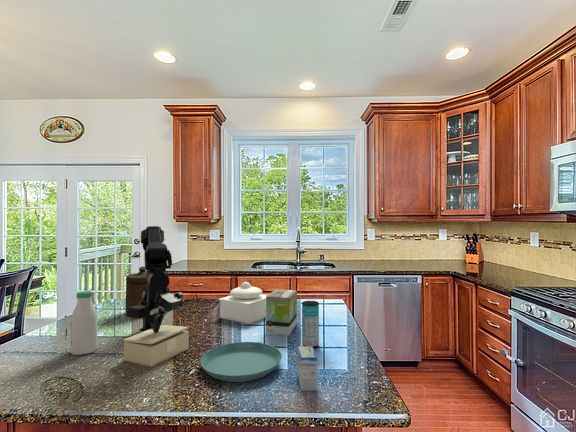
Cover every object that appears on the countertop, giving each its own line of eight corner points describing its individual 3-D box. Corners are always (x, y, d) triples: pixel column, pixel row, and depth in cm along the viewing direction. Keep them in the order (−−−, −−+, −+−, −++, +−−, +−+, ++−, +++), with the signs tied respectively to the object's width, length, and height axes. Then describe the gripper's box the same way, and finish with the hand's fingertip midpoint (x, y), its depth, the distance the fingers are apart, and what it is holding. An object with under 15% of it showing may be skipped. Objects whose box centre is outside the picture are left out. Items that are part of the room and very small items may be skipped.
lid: (123, 341, 106) (123, 338, 106) (162, 326, 120) (162, 324, 120) (151, 344, 101) (151, 341, 101) (188, 328, 115) (188, 326, 115)
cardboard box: (123, 360, 106) (123, 341, 106) (162, 343, 120) (162, 326, 120) (152, 367, 100) (152, 347, 101) (188, 349, 115) (188, 331, 115)
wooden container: (151, 316, 154) (151, 268, 154) (119, 316, 154) (119, 268, 154) (163, 308, 169) (163, 264, 169) (134, 308, 169) (134, 264, 169)
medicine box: (297, 377, 94) (297, 346, 94) (313, 376, 94) (312, 345, 94) (300, 391, 86) (300, 357, 86) (317, 390, 87) (317, 357, 87)
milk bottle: (102, 348, 116) (102, 290, 116) (82, 357, 109) (82, 295, 109) (86, 345, 118) (86, 288, 119) (65, 354, 111) (65, 293, 111)
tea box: (290, 336, 127) (290, 297, 127) (264, 334, 129) (264, 296, 129) (297, 324, 142) (297, 289, 142) (274, 322, 144) (274, 288, 144)
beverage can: (320, 343, 120) (320, 301, 120) (317, 349, 114) (317, 305, 114) (304, 341, 121) (303, 300, 121) (300, 347, 116) (300, 304, 116)
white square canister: (273, 314, 157) (273, 280, 157) (248, 324, 142) (248, 287, 142) (244, 309, 167) (244, 277, 167) (218, 318, 152) (218, 283, 152)
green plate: (207, 352, 112) (207, 342, 113) (279, 350, 114) (279, 340, 114) (192, 388, 88) (192, 376, 88) (284, 385, 90) (284, 372, 90)
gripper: (152, 293, 99) (151, 346, 99) (195, 282, 116) (194, 328, 116) (125, 289, 104) (125, 340, 103) (170, 279, 121) (170, 323, 120)
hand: (156, 332), depth 111 cm, fingers closed, pressing on lid
